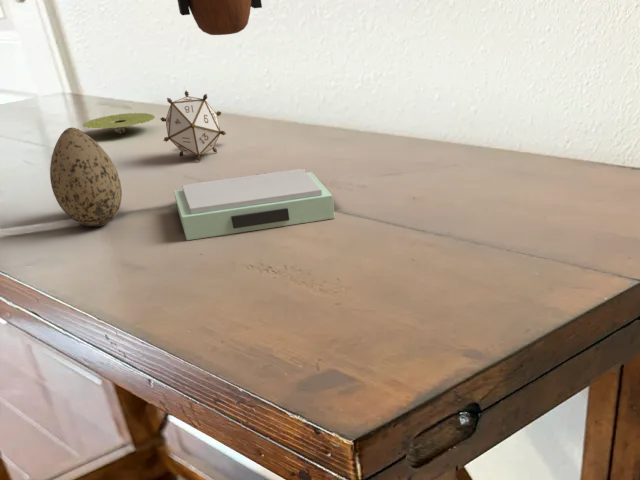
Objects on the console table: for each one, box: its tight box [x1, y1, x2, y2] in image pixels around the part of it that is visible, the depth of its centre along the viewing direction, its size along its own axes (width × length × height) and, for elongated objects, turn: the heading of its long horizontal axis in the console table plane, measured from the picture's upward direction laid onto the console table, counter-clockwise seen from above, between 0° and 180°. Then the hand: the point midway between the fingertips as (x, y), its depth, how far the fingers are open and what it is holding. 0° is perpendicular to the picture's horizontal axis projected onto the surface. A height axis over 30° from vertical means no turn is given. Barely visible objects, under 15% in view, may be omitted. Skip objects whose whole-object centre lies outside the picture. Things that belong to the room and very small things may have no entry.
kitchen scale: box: [173, 168, 336, 241], centre depth 90 cm, size 16×11×3 cm
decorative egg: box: [49, 127, 123, 228], centre depth 88 cm, size 7×7×10 cm
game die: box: [159, 90, 227, 163], centre depth 112 cm, size 9×8×10 cm
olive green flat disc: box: [82, 112, 155, 135], centre depth 130 cm, size 11×11×2 cm
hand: (220, 9), depth 79 cm, fingers closed on wooden figurine, 6 cm apart
